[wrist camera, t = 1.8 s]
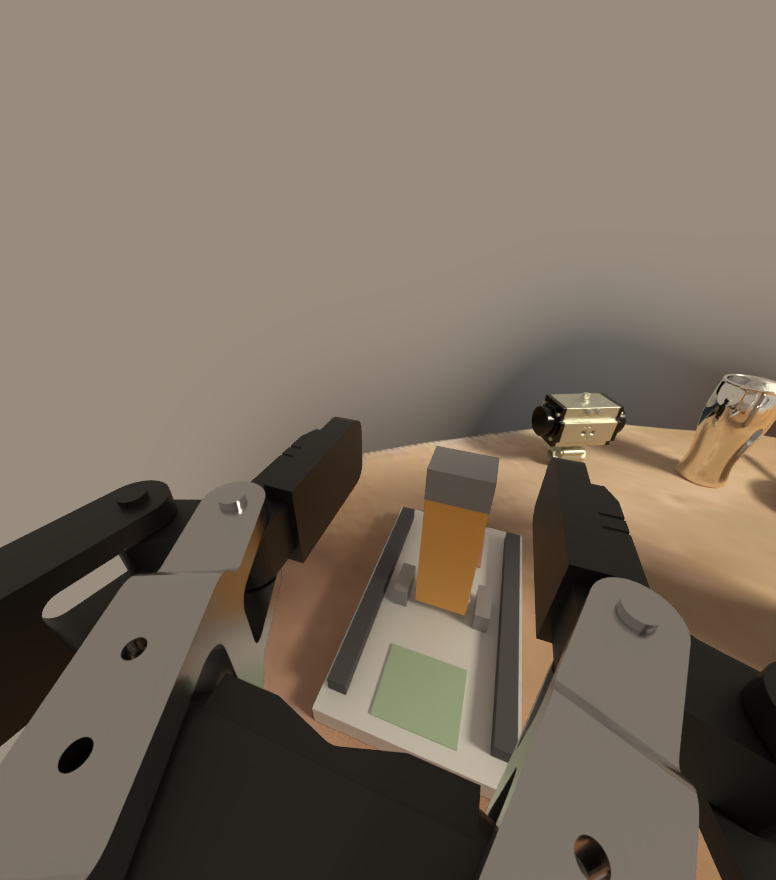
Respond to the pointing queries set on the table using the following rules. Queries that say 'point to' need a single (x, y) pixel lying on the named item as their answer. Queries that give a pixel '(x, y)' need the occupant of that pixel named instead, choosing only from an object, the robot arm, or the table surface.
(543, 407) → the pneumatic valve
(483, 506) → the lever
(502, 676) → the dark grey mounting rails
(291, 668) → the table surface
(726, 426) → the beer glass
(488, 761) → the breaker panel
